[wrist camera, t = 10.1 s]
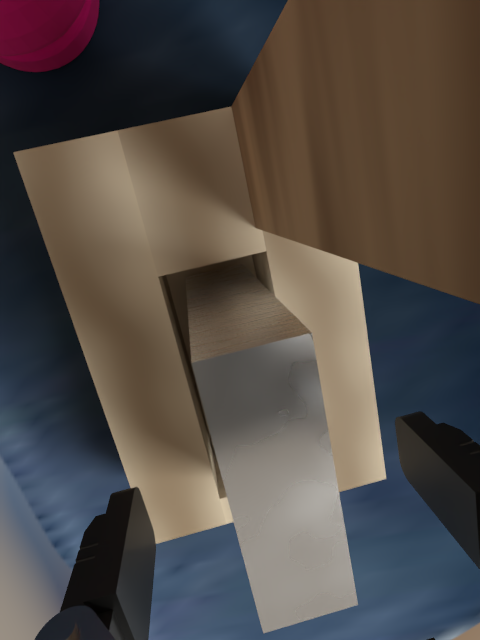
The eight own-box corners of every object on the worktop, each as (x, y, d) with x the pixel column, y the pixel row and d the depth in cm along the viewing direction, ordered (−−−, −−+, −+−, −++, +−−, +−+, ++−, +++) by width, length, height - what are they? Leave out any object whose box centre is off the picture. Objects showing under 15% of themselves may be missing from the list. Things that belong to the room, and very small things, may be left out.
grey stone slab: (242, 263, 22) (311, 332, 10) (274, 414, 24) (358, 604, 13) (185, 277, 21) (191, 362, 10) (223, 428, 24) (263, 633, 13)
